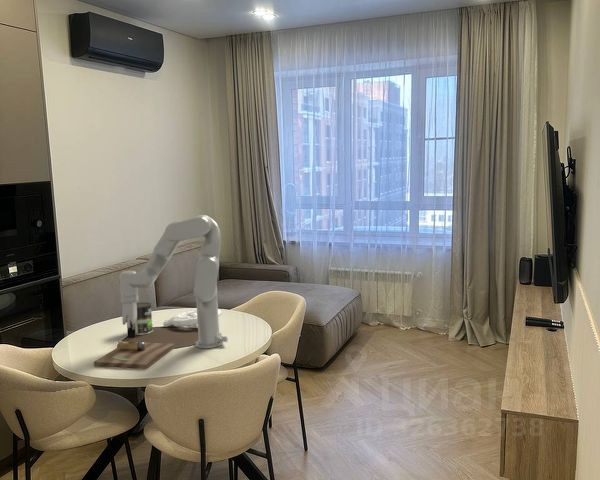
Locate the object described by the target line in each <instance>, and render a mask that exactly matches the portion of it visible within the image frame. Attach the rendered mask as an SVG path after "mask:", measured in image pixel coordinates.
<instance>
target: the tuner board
mask: <svg viewBox="0 0 600 480" xmlns="http://www.w3.org/2000/svg"><path fill="white" fill-rule="evenodd" d="M144 343H145V350H143V351H138V350H131V349H119V346H118V347H115V348H114V349H113V350H111V351H109V352H108V353H106V354H105V355H103V356H101V357H100V358H98V359H97V360H95V361H93V366H94V367H95V368H96V367H97V368H98V367H99V368H116V369H117V368H118V369H135V370H147V369H149V368H150V367H152V366H153V365H154V364H156V363H157V362H159V360H161V359H162V358H164V357H165V356H166V355H167V354H169V353H170V352H171V351H173V350H174V349H175V348H176V345H175V343H165V342H162V343H161V342H144Z"/></svg>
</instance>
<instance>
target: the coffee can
mask: <svg viewBox="0 0 600 480" xmlns="http://www.w3.org/2000/svg"><path fill="white" fill-rule="evenodd" d="M136 303H137V320H136V321H135V328H134V329H135V334H136V336H143V335H149V334H151V333H153V332H154V327H153V318H152V317H153V315H152V313H153V312H152V303H150V302H136Z"/></svg>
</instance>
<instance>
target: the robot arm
mask: <svg viewBox="0 0 600 480" xmlns="http://www.w3.org/2000/svg"><path fill="white" fill-rule="evenodd" d="M199 237H201V238H202V239H201V246H200V257H199V260H198V261H197V263H196V267H195V277H194V285H193V296H194V297H195V299H196V311H197V320H198V324H197V333H198V334H197V335H198V340H197V341H195V347H197V348H199V349H213V348H218V347H220V346H222V345H223V344H224V343H227V342H228V341H229V339H228V338H229V337H228V336H227V335H226V336H223V335H222V332H220V325H219V317H218V310H219V304H218V303H219V302H218V286H217V283H218V275H219V269H220V254H221V247H222V246H221V244H222V235H221V229H220V227H219V225H218V223H217V222H216V221H215V220H214V219H213V218H212V217H210V216H209V215H206V214H199V215H197V216H195V217H194V218H188V219H185V220H181V221H176V220H175V221H172V222H170V223H169V224H168V225H167V226H166V227H165V229H164V232H163V234H162V235H161V237H160V238H159V240H158V242H157V243H156V245H155V246H154V248H153V251H152V254H151V256H150V257H149V260H148V261H147V262H146V263H145V265H144V267H143V269H142V270H141V271H140V272H136V271H135V270H124V271H121V272H120V273H119V289H120V290H119V291H120V303H121V304H122V310H121V311H122V312H121V314H122V318H121V319H122V320H121V321H122V325H123V326H124V325H126V328H127V329H126V330H127V339H135V338H136V336H137V335H136V334H135V329H134V328H135V321H136V320H137V303H139V289H147V288H150V287H152V285H153V284H154V283H155V281H156V280H157V278H158V277H159V276H160V274H161V272H163V270H164V268H165V267H166V265H167V264H168V262H169V261H170V260H171V258H172V257H173V255H174V253H175V252H176V250H177V249H178V247H179V246H180V244H181V243H182V242H184V241H187V240H191V239H197V238H199Z"/></svg>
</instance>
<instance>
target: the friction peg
mask: <svg viewBox="0 0 600 480" xmlns="http://www.w3.org/2000/svg"><path fill="white" fill-rule="evenodd" d="M145 343H146V342H145V341H123V340H118V341H117V344H118V347H119V349H131V350H138V351H143V350H145Z"/></svg>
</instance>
